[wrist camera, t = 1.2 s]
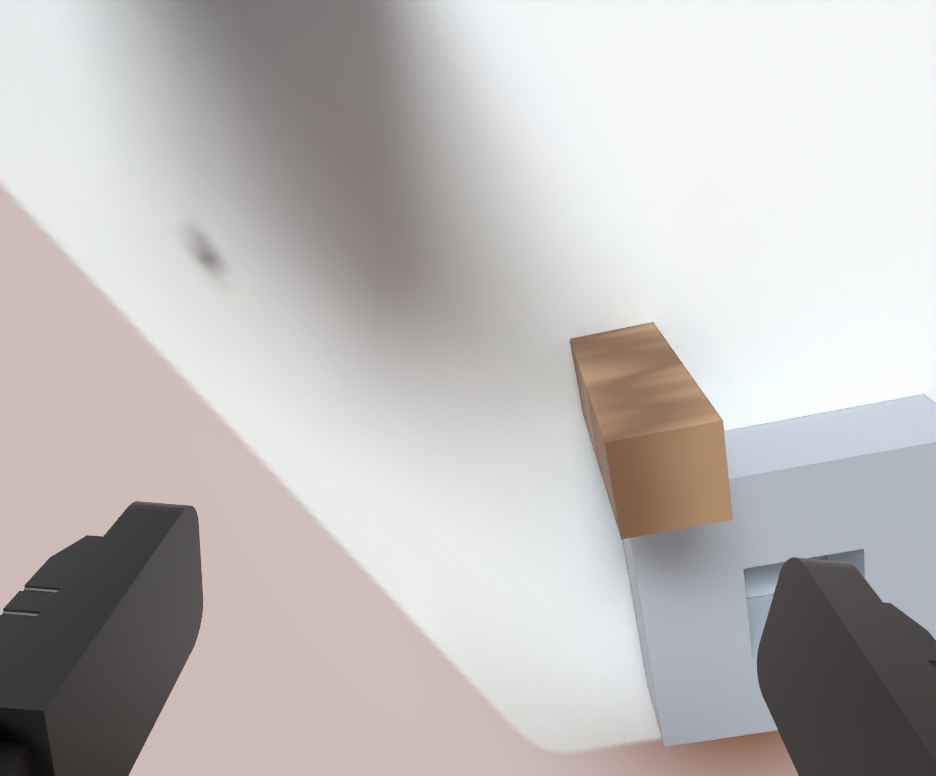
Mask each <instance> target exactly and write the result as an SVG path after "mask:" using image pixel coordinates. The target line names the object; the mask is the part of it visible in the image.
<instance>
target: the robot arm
mask: <svg viewBox="0 0 936 776" xmlns="http://www.w3.org/2000/svg"><path fill="white" fill-rule="evenodd" d="M3 610H4V611H3V614H2V615H0V776H128V775H129V773H130V771H131V769H132V767H133V765H134V763H135V761H136V759H137V758H138V755H139V753H140V752H141V750H142V748H143V746H144V744H145V742H146V740H147V738H148V736H149V734H150V732H151V730H152V728H153V726H154V724H155V722H156V720H157V718H158V716H159V714H160V712H161V710H162V708H163V706H164V705H165V703H166V701H167V699H168V697H169V695H170V692H171V691H172V689H173V687H174V685H175V683H176V681H177V679H178V677H179V675H180V673H181V671H182V669H183V667H184V665H185V663H186V661H187V659H188V657H189V655H190V653H191V651H192V649H193V647H194V645H195V642H196V639H197V636H198V633H199V629H200V624H201V619H202V610H203V590H202V574H201V556H200V540H199V523H198V516H197V512H196V510H195V508H194V507H193V506H187V505H175V504H163V503H151V502H139V501H137V502H133V503H132V504H131V505H130V506H129V507H128V508H127V509H126V510H125V511H124V513H123V514H122V515H121V516H120V517H119V518H118V520H117V521H116V522H115V523H114V525H113V526H112V527H111V528H110V529H109V531H108V532H107V533H106V534H105V535H104V537H101V536H88V535H87V536H85V537H84V538H82V539H80V540H79V541H77V542H75V543H74V544H72V545H71V546H69V547H67V548H65V549H64V550H62V551H60V552H59V553H57V554H55V555H54V556H52V557H50V558H49V559H48V560H47V561H46V563H45V564H44V565H43V566H42V567H41V568H40V569H39V571H37V573H35V575H34V576H33V577H32V578H31V579H30V580H29V581H28V582H27V583H26V585H25V589H24V591H19V592H18V593H17V594H16V596H15V597H14V598H13V599H12V600H11V601H10V602H9V603H8V604H7V605H6V607H5V608H4V609H3ZM757 675H758V682H759V687H760V690H761V693H762V696H763V698H764V700H765V703H766V705H767V707H768V709H769V711H770V713H771V716H772V718H773V720H774V722H775V724H776V727H777V729H778V731H779V733H780V735H781V738H782V740H783V742H784V744H785V746H786V748H787V751H788V753H789V755H790V757H791V759H792V761H793V764H794V766H795V768H796V770H797V772H798V775H799V776H936V640H935V639H934V638H933V636H932V635H931V634H930V633H929V631H927V630H926V629H925V628H923V627H922V626H921V625H919V624H918V623H917V622H915V621H914V620H913V619H911V618H910V617H909V616H907V615H906V614H905V613H904V612H902V611H901V610H900V609H898V608H897V607H896V606H894V605H893V604H892V603H884V602H882V600H881V599H880V598H879V596H878V595H877V594H876V592H875V591H874V590H873V589H872V587H871V586H870V585H869V583H868V582H867V581H866V580H865V578H864V577H863V576H862V574H861V573H860V572H859V570H858V569H857V568H856V567H855V566H854V565H853V564H851V563H849V562H844V561H832V560H820V559H808V558H796V557H792V558H790V559H788V560H787V561H786V562H785V563H784V565H783V567H782V569H781V572H780V575H779V579H778V582H777V585H776V589H775V592H774V596H773V599H772V602H771V606H770V609H769V613H768V616H767V619H766V623H765V626H764V629H763V633H762V636H761V640H760V643H759V647H758V653H757Z"/></svg>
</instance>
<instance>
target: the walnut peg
mask: <svg viewBox="0 0 936 776" xmlns="http://www.w3.org/2000/svg"><path fill="white" fill-rule="evenodd" d="M570 343H571V348H572V354H573V359H574V365H575V371H576V376H577V382H578V387H579V393H580V399H581V404H582V410H583V415H584V418H585V421H586V424H587V428H588V431H589V434H590V438H591V441H592V444H593V447H594V451H595V454H596V457H597V460H598V464H599V467H600V470H601V474H602V477H603V480H604V483H605V487H606V490H607V493H608V497H609V500H610V503H611V506H612V510H613V513H614V516H615V520H616V523H617V526H618V529H619V533H620V536H621V539H626V538H632V537H638V536H644V535H649V534H655V533H661V532H667V531H672V530H678V529H684V528H689V527H695V526H701V525H707V524H712V523H718V522H724V521H730V520H733V514H732V505H731V495H730V485H729V475H728V466H727V456H726V446H725V436H724V427H723V420H722V418H721V417H720V416H719V414H718V413H717V411H716V410H715V409H714V407H713V406H712V404H711V403H710V402H709V400H708V399H707V397H706V396H705V395H704V393H703V392H702V390H701V389H700V387H699V386H698V385H697V383H696V382H695V380H694V379H693V378H692V376H691V375H690V373H689V372H688V371H687V369H686V368H685V366H684V365H683V364H682V362H681V361H680V359H679V358H678V356H677V355H676V354H675V352H674V351H673V349H672V348H671V347H670V345H669V344H668V342H667V341H666V340H665V338H664V337H663V335H662V334H661V333H660V331H659V330H658V328H657V327H656V326H655V324H654V323H653V322H652V323H647V324H642V325H637V326H632V327H627V328H622V329H617V330H612V331H607V332H603V333H598V334H593V335H588V336H583V337H578V338H573V339H570Z"/></svg>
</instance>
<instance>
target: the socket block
mask: <svg viewBox="0 0 936 776" xmlns="http://www.w3.org/2000/svg"><path fill="white" fill-rule="evenodd" d="M724 436H725V446H726V456H727V466H728V475H729V485H730V495H731V505H732V514H733V520H730V521H724V522H718V523H712V524H707V525H701V526H695V527H689V528H684V529H678V530H672V531H667V532H661V533H655V534H649V535H644V536H638V537H632V538H626V539H623V544H624V550H625V556H626V562H627V568H628V573H629V579H630V585H631V591H632V597H633V603H634V609H635V615H636V621H637V627H638V633H639V639H640V644H641V650H642V656H643V662H644V668H645V674H646V680H647V685H648V689H649V693H650V696H651V700H652V704H653V707H654V711H655V715H656V718H657V722H658V726H659V729H660V733H661V736H662V740H663V744H664V746H665V747H667V746H674V745H680V744H688V743H694V742H701V741H708V740H715V739H722V738H729V737H735V736H742V735H749V734H756V733H763V732H769V731H776V730H778V729H777V727H776V724H775V722H774V720H773V718H772V716H771V713H770V711H769V709H768V707H767V705H766V703H765V700H764V698H763V696H762V693H761V690H760V687H759V682H758V675H757V653H758V647H759V643H760V640H761V636H762V633H763V629H764V626H765V623H766V619H767V616H768V613H769V609H770V606H771V602H772V599H773V596H774V594H773V595H767V596H761V597H755V598H749V599H746V590H745V579H744V569H746V568H752V567H758V566H764V565H770V564H776V563H782V562H786V561H787V560H788V559H790V558H792V557H796V558H811V557H817V556H823V555H827V560H832V561H844V562H849V563H851V564H853V565H854V566H855V567H856V568H857V569H858V570H859V572H860V573H861V574H862V576H863V577H864V578H865V580H866V581H867V582H868V583H869V585H870V586H871V587H872V589H873V590H874V591H875V592H876V594H877V595H878V596H879V598H880V599H881V600H882V602H884V603H892V604H893V605H894V606H896V607H897V608H898V609H900V610H901V611H902V612H904V613H905V614H906V615H907V616H909V617H910V618H911V619H913V620H914V621H915V622H917V623H918V624H919V625H921V626H922V627H923V628H925V629H926V630H927V631H929V633H930V634H931V635H932V636H933V638H934V639H935V640H936V403H935V402H934V401H933V400H931V399H930V398H928V397H927V396H926V395H924V394H923V395H917V396H912V397H907V398H901V399H896V400H891V401H885V402H880V403H875V404H869V405H864V406H858V407H853V408H848V409H842V410H837V411H832V412H826V413H821V414H815V415H810V416H805V417H799V418H794V419H789V420H783V421H778V422H773V423H767V424H762V425H756V426H751V427H746V428H740V429H735V430H730V431H724Z"/></svg>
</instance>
